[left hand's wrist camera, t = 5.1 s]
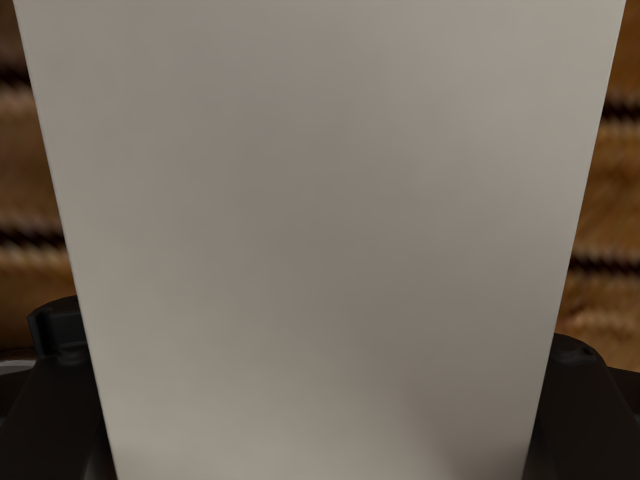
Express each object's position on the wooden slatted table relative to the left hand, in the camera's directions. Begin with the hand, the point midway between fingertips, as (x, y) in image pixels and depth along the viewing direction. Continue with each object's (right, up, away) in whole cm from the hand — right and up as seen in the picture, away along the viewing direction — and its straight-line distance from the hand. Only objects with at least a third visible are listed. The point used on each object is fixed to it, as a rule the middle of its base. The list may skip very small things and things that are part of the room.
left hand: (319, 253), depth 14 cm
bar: (0, +9, -3) cm, 10 cm away
